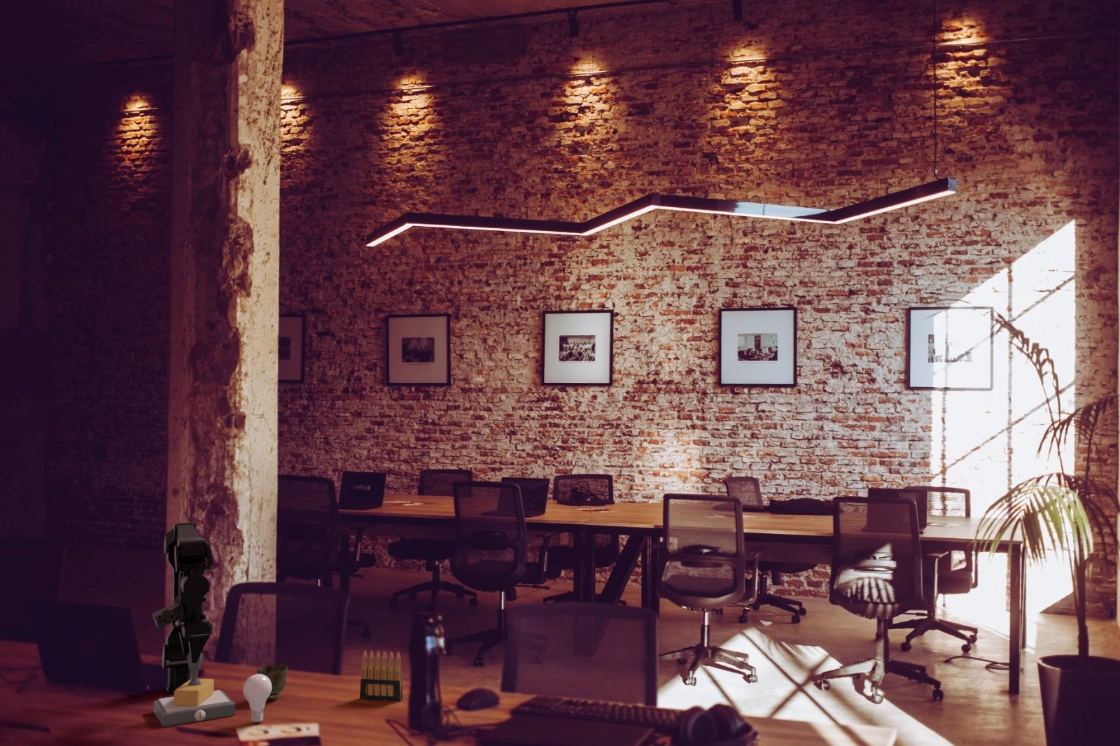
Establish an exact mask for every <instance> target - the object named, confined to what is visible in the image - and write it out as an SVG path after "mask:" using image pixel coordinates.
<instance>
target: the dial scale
mask: <svg viewBox="0 0 1120 746" xmlns="http://www.w3.org/2000/svg"><path fill="white" fill-rule="evenodd" d="M154 713H155V714H154ZM153 714H154V715H155V717H156V719H157V720H158V722H159V723H160V725H161V726H162V727H163V728H164V727H170V726H175V725H182V724H187V723H195V722H201V721H208V720H214V719H220V718H225V717H226V718H228V717H231V716H236V703H235V702H234V701H233V700H232V699H231V698H230V697H229V696H228V694H226V693H225V691H224V690H222V691H221V690H220V689H218V690H214V693H213V694H212V695H211V696H209V697H208V698H207V699H206V700H204V701H203V702H202V703H200V704H199V705H198V706H175V705H174V696H171V697H163V698H158V700H153Z"/></svg>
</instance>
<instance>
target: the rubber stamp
mask: <svg viewBox="0 0 1120 746" xmlns="http://www.w3.org/2000/svg"><path fill="white" fill-rule="evenodd" d="M187 662H188V665H189V668H190V671H191V674H192V678H191V680H189V681H188V682H186V683H185V684H183V685H182V686H180V687H179V688H177V689H176V690H175V691H174V693H173V697H174V705H175V706H198V705H199V704H200V703H202V702H203V701H204V700H206V699H207V698H208V697H209V696H211V695H212V694H213V693H214V691H215V689H214V688H215V684H214V683H215V681H214V679H213V678H198V676H199V675H198V674H199V672H200V671H199V670H200V667H201V666H202V663H203V652H202V653H201V655H200V657H199V659H198V661H197V663H192V661H191V655H190V652H189V654H188V657H187Z"/></svg>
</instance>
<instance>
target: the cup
mask: <svg viewBox="0 0 1120 746" xmlns="http://www.w3.org/2000/svg"><path fill="white" fill-rule="evenodd" d="M288 670H289V665H286V663H284V664H282V663H279V665H278V666H275V663H272V664H271V663H268V664H267V665H266V666H265V665H264V664H262V667H261V666H260V665H259V667H257V668H256V671H257V673H256V674H263V675H265V676H267V677H268V678H269V679H270V681H271V684H272V691H271V693H270V695H269V697H268V699H267V700H266V701H271V702H272V701H276V700H278V699H279V698H280V696H281V695H280V694H281V692H282V691H283V690H284V689H285V686H286V683H287V678H288V677H287V676H288Z"/></svg>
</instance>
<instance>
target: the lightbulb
mask: <svg viewBox="0 0 1120 746" xmlns="http://www.w3.org/2000/svg"><path fill="white" fill-rule="evenodd" d="M271 691H272V684H271V681H270V679H269V678H268V677H267V676H265V675H263V674H257V673H256V674H253V675H250V676H249V677H248V678H247V679H246V680H245V681H244V683H243V688H242V693H243V695H244V697H245V699H246V700H247V702H248V705H249V708H250V712H251V714H250V715H251V716H250V719H251V720H250V721H251V722H252V723H255V724H260V723H261V722H262V721H263V720H264V709H265V707H266V706H265V705H266V702H267V701H268V700H267V699H268V697H269V695H270V693H271Z"/></svg>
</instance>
